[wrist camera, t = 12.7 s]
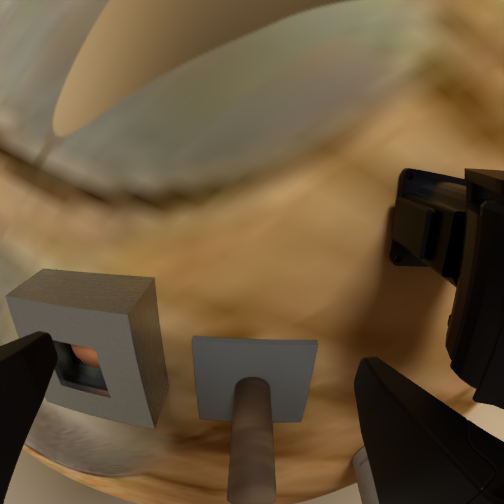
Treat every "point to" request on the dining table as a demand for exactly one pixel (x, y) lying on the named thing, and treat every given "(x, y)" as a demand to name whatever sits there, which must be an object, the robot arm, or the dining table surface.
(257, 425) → the brown cylinder rod
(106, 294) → the plate
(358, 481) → the thermos bottle
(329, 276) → the dining table surface
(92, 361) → the orange rounded dome
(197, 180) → the dining table surface
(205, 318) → the dining table surface
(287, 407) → the pad
